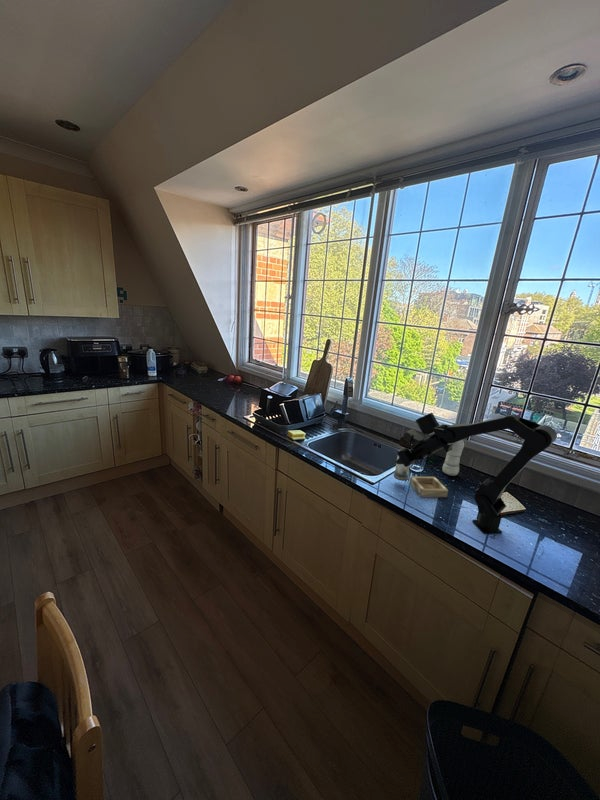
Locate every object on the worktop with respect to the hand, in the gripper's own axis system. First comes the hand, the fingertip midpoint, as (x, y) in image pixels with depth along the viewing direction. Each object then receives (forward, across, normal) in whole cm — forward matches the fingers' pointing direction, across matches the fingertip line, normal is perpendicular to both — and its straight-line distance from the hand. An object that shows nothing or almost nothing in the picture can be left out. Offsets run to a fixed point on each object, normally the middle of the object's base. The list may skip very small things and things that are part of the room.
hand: (400, 460), depth 129 cm
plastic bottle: (0, -27, +14) cm, 31 cm away
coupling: (+4, 0, +6) cm, 7 cm away
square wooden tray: (0, -6, +14) cm, 16 cm away
